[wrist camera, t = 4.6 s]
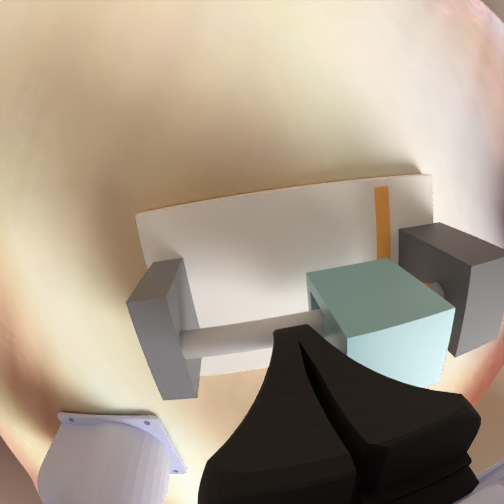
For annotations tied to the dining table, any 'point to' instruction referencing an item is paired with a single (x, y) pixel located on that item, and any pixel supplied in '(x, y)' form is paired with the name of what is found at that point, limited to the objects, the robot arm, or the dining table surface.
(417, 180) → the sliding block rail
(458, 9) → the dining table surface
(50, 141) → the dining table surface
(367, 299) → the sleeve
